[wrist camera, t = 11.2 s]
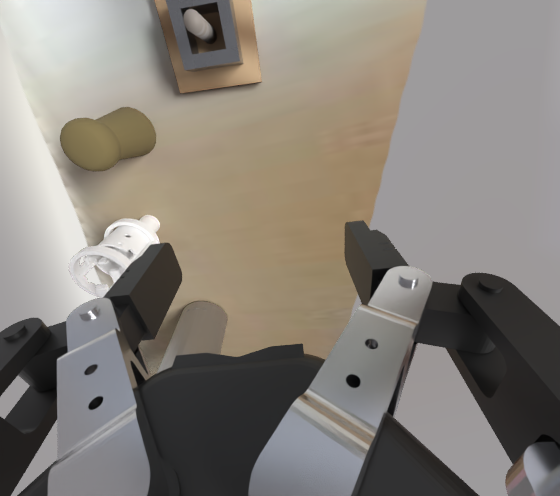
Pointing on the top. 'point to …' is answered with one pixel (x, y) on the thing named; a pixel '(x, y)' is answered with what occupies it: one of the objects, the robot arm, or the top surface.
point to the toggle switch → (213, 47)
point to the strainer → (115, 251)
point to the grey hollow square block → (193, 61)
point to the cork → (107, 139)
